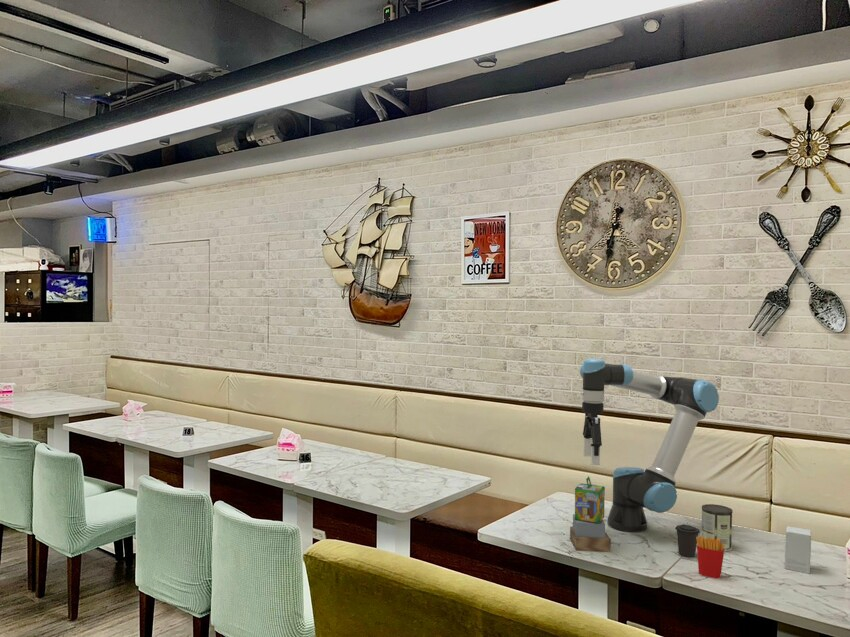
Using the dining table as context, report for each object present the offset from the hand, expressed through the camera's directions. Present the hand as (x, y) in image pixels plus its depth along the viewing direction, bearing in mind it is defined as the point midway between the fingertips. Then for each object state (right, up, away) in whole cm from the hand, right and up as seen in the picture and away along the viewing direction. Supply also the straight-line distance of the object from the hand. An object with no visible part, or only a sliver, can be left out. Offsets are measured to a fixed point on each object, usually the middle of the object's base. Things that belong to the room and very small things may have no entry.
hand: (591, 460), depth 226 cm
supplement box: (+65, -33, -16) cm, 75 cm away
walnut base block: (-1, -31, 0) cm, 31 cm away
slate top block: (-1, -26, 0) cm, 26 cm away
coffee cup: (+32, -32, -7) cm, 45 cm away
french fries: (+32, -32, -24) cm, 51 cm away
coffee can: (+46, -32, +2) cm, 56 cm away
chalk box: (-1, -21, 0) cm, 21 cm away
